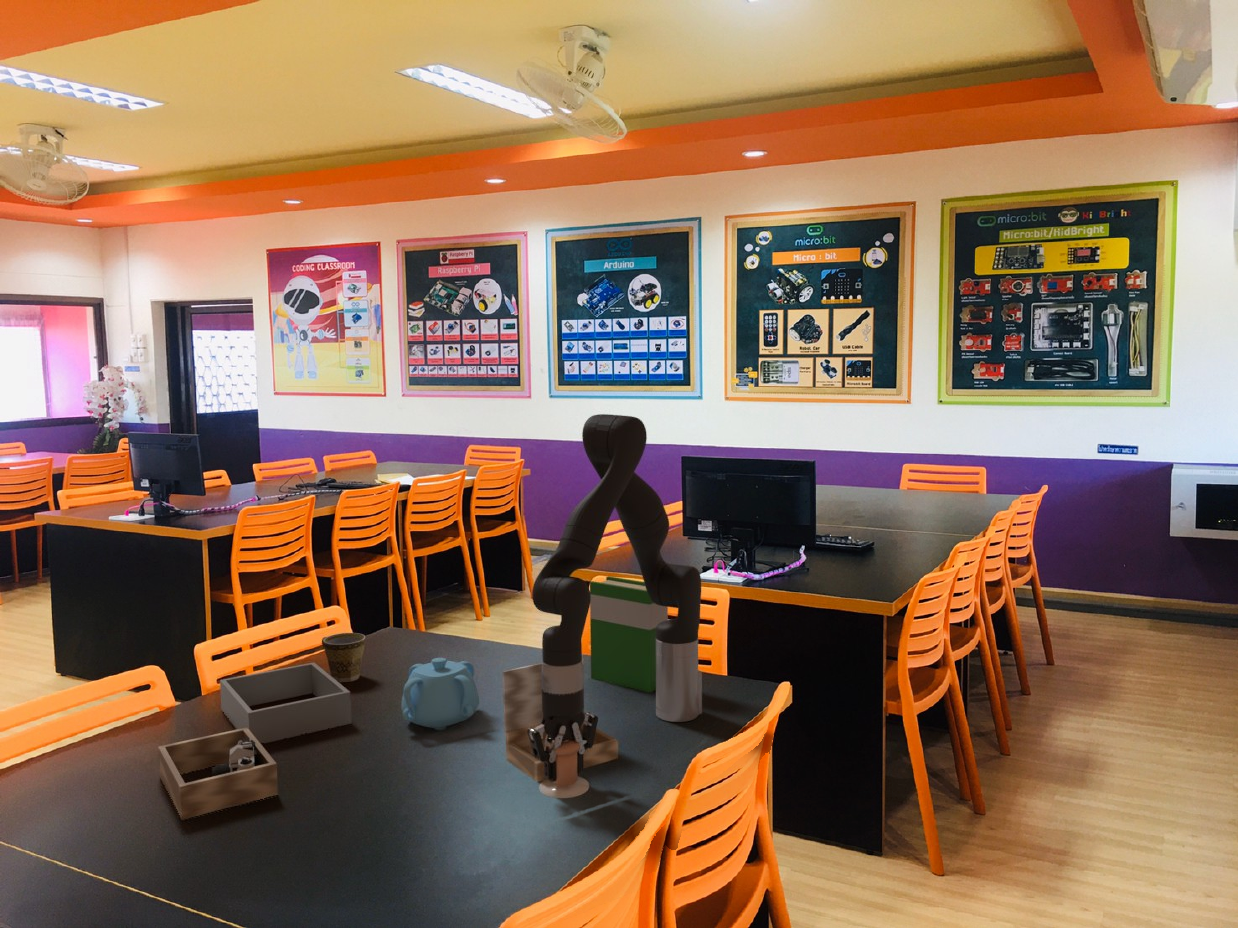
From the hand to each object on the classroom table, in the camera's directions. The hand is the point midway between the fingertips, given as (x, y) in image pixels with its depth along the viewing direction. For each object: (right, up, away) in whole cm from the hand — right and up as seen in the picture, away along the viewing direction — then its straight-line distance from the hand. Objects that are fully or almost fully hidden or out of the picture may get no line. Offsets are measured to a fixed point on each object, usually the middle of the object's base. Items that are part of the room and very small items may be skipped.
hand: (564, 775), depth 172 cm
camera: (-60, -3, +2) cm, 60 cm away
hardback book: (+12, +4, +58) cm, 60 cm away
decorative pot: (-29, +1, +34) cm, 45 cm away
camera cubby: (-64, -3, +3) cm, 64 cm away
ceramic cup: (-59, +4, +63) cm, 86 cm away
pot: (0, -1, 0) cm, 1 cm away
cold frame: (-1, -1, +12) cm, 12 cm away
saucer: (0, -2, 0) cm, 2 cm away
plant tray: (-63, +1, +37) cm, 73 cm away
